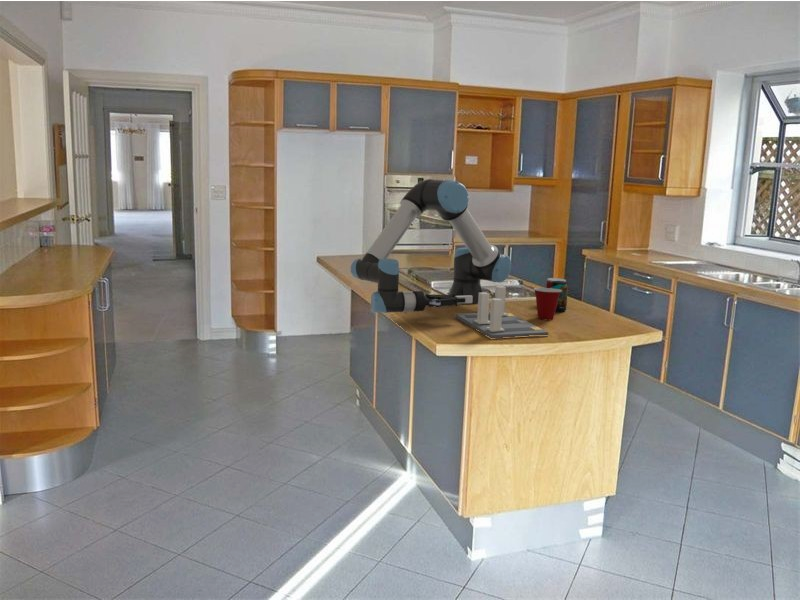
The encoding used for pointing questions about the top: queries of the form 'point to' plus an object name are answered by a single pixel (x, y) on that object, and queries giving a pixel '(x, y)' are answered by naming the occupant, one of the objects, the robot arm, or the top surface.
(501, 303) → the slider
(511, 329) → the grey base board
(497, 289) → the slider
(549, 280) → the canned food
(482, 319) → the slider
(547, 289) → the plastic cup
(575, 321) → the top surface
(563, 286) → the beverage can
